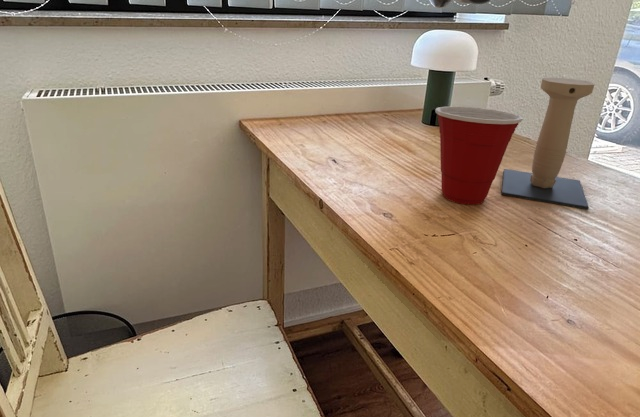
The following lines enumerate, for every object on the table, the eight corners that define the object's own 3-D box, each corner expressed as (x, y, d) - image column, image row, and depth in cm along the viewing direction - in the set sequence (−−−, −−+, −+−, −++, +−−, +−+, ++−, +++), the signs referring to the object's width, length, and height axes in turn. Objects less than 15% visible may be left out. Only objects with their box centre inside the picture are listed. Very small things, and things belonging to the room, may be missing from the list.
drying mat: (579, 182, 75) (579, 180, 75) (587, 209, 65) (588, 206, 65) (503, 170, 78) (504, 168, 78) (501, 194, 69) (502, 192, 69)
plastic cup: (496, 185, 72) (513, 104, 67) (511, 216, 62) (533, 123, 57) (421, 178, 73) (433, 98, 68) (425, 207, 63) (439, 115, 58)
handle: (569, 193, 69) (599, 86, 63) (522, 189, 70) (548, 82, 64) (559, 181, 74) (586, 80, 67) (515, 177, 74) (538, 76, 68)
